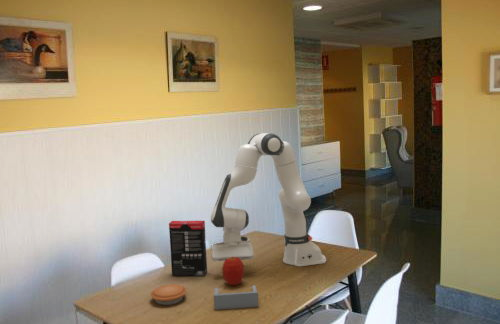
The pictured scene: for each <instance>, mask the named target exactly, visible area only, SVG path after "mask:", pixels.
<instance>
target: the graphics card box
mask: <svg viewBox="0 0 500 324" xmlns="http://www.w3.org/2000/svg"><path fill="white" fill-rule="evenodd" d="M168 230H169V232H168V233H169V244H170V245H169V246H170V263H171V265H170V266H171V276H173V277H176V276H177V277H179V276H180V277H205V276H206V274H207V273H208V263H207V262H208V261H207V260H208V259H207V243H206V241H207V240H206V222H205V220H172V221H170V222H169V223H168Z"/></svg>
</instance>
